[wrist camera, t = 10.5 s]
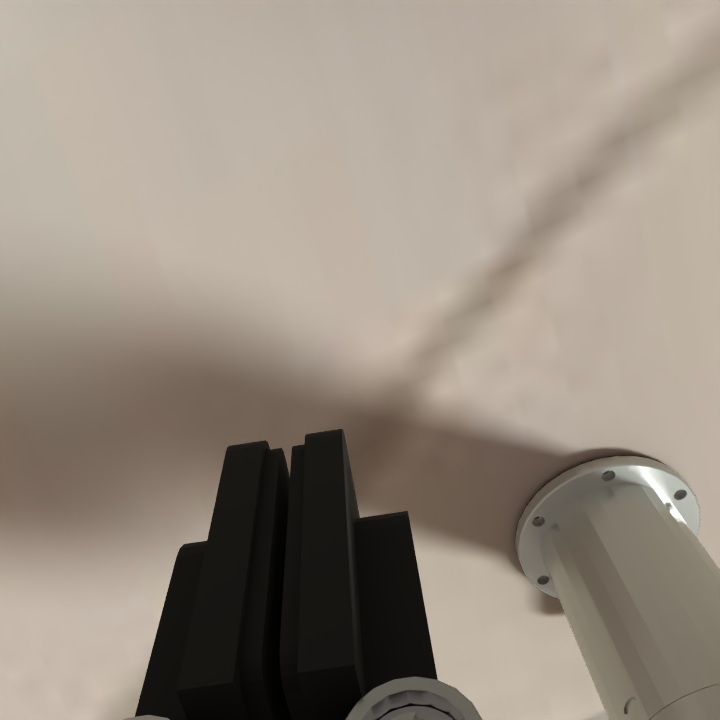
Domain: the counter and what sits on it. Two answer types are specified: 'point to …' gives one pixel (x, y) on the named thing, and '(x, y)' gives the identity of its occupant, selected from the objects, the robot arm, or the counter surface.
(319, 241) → the counter surface
